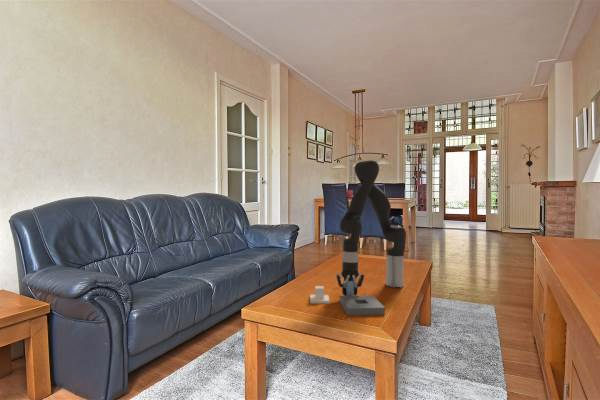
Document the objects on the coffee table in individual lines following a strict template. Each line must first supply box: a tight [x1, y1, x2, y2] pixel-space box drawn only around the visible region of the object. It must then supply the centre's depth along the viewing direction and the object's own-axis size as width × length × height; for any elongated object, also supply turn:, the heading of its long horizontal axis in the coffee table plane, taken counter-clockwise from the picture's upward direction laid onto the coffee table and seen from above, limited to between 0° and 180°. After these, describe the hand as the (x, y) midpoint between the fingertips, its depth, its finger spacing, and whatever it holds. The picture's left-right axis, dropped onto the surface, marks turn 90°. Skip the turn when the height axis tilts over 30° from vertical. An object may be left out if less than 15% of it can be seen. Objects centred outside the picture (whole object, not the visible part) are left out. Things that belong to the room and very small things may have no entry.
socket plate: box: [339, 295, 386, 316], centre depth 148 cm, size 16×16×3 cm
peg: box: [345, 281, 354, 296], centre depth 160 cm, size 4×4×9 cm
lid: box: [309, 285, 330, 304], centre depth 158 cm, size 9×9×6 cm
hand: (349, 295), depth 160 cm, fingers open, 4 cm apart
